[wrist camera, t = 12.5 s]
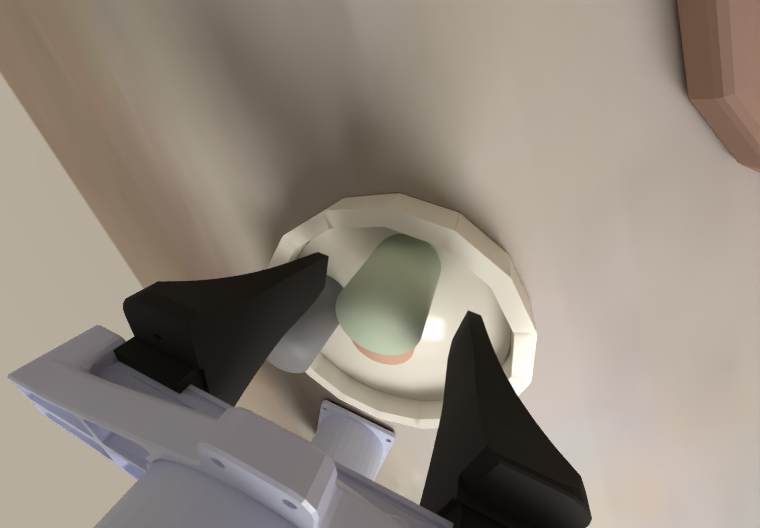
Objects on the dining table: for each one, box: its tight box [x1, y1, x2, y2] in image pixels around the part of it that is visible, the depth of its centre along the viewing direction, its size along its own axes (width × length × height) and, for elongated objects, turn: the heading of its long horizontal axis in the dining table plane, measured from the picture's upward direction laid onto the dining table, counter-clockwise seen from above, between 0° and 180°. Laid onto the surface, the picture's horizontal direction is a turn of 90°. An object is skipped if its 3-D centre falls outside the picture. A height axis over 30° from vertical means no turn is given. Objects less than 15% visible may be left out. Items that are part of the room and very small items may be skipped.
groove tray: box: [267, 193, 537, 428], centre depth 18 cm, size 17×17×2 cm
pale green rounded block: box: [335, 234, 441, 355], centre depth 14 cm, size 4×4×5 cm
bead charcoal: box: [266, 275, 344, 373], centre depth 17 cm, size 4×4×5 cm
